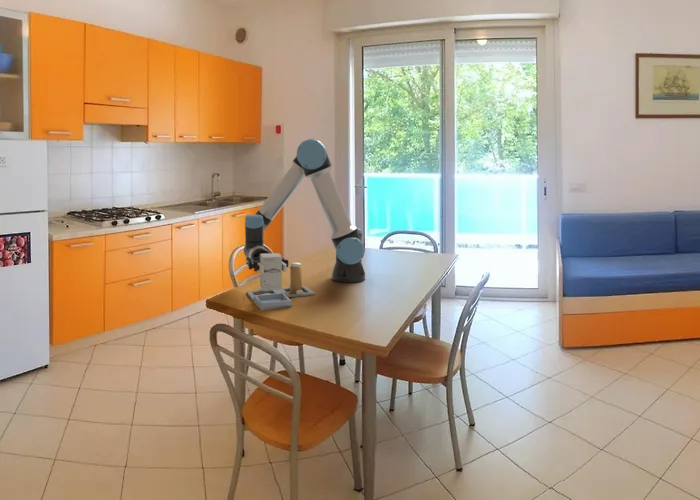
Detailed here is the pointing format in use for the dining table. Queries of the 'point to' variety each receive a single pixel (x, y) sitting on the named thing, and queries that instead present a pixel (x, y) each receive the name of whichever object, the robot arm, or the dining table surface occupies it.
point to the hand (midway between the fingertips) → (274, 269)
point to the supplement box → (271, 271)
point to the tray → (272, 301)
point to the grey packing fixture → (283, 290)
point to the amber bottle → (295, 277)
